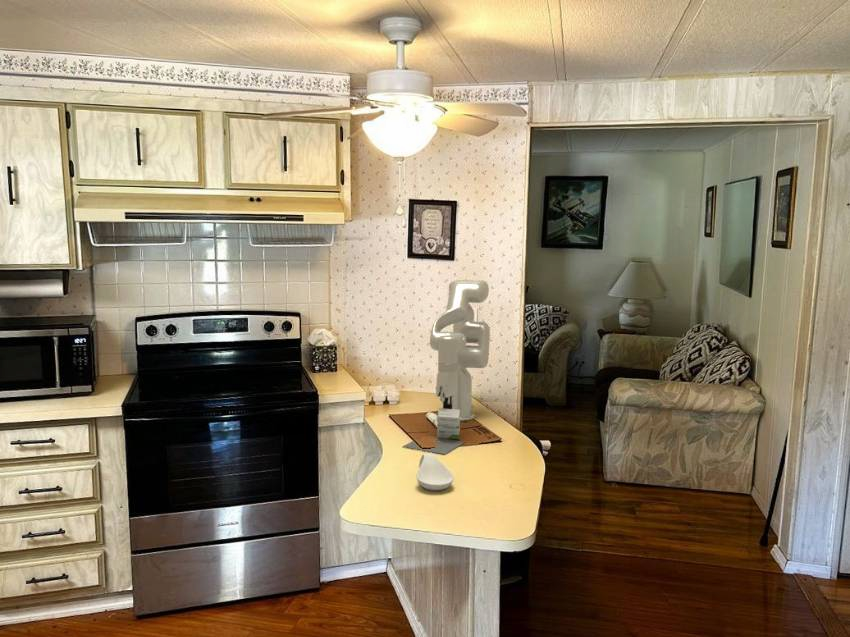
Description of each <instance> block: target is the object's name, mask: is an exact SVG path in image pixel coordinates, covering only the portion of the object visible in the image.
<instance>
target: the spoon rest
mask: <svg viewBox="0 0 850 637" xmlns="http://www.w3.org/2000/svg"><path fill="white" fill-rule="evenodd" d="M454 479H455V477H454V474H453V473H452V471H451V470H449V468H448V467H447V466H446V465H445V464H444V463H442V462H441V460H440V459H439V458H438V457H437V456H436V454H435V453H423V454H422V455H421V457H420V460H419V464H418V469H417V473H416V480H417V482H418V483H419V485H421V487H422V488H425V489H426V490H429V491H442V490H445V489H447V488H448V487H450V486H451V485H452V483H453V482H454Z"/></svg>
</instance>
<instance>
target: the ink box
mask: <svg viewBox="0 0 850 637" xmlns="http://www.w3.org/2000/svg"><path fill="white" fill-rule="evenodd" d="M436 417H437V420H436V422H437V423H436V425H437V426H436V433H437V434H436V435H437V436H436V437H437V438H443V439H450V440H454V439H455V440H459V439H460V432H461V430H460V429H461V421H460V410H456V409H443V407H442V408H441V407H440V408H439V407H438V410H437V416H436Z"/></svg>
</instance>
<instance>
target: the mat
mask: <svg viewBox="0 0 850 637" xmlns="http://www.w3.org/2000/svg"><path fill="white" fill-rule="evenodd" d="M429 436H430V435H429ZM429 438H433V439H437V440H435V441H440V442H442V443H439V442H435V443H436V444H437V446H436V447H435V448H431V449H422V448H420V447H419V446H418V445H417V444H416V443H414V440H412V441H411V442H408V443H407V444H404V445H402V448H403V447H406V448H405V449H409V448H412V449H411V450H414V449H417V450H416V451H419V450H422V451H421V452H425V451H428V452H427V453H430V452H432V453H431V454H435V455H436V454H437V455H442V456H446V455H448V454H449V453H452V452H453V451H454V450H456V449H457V448H460V447H461V446H462V444H463V443H464V444H465V443H466V442H465V441H460V440H456V439H455V440H454V439H450V438H438V437H437V436H436V437H435V436H430V437H429ZM464 444H463V445H464ZM460 445H461V446H460Z"/></svg>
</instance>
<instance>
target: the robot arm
mask: <svg viewBox="0 0 850 637" xmlns="http://www.w3.org/2000/svg"><path fill="white" fill-rule="evenodd" d="M489 292H490V288H489V284H488V282H487V281H486V280H480V279H479V280H477V279H476V280H475V279H474V280H473V279H472V280H470V279H460V280H453V281H451V282H450V283H449V285H448V299H447V305H446V310H445V311H444V312H442V313H441V314H440V315H439V316H438V317H437V318H436V320H434V322H433V324H432V326H431V330H430V337H429V345H430V348H431V349H432V350H433V351H437V352H438V353H437V356H438V358H437V360H438V361H437V362H438V363H437V374H436V375H437V376H436V386H435V387H436V388H435V396H436V397H437V398H439V401H440V402H442V408H443V409H456V410H460V422H461V421H464V422H465V420H466V421H471V420H474V419H475V418H476V414H475V413H474V412H473V411H472V409H474V408H475V404H473V403H472V390H473V389H472V388H473V387H472V384H473V383H472V382H473V381H472V380H473V379H472V376H471V374H470V372H469V370H468V369H469V368H470V369H484V368H486V367H487V366H488V364H489V355H490V354H489V352H490V342H491V341H490V338H491V337H490V336H491V333H490V332H491V330H490V325H489V324H488V323H487V322H485V321H474V316H475V311H474V309H473V307H472V306H471V304H470V303H473V304H474V303H475V304H481V303H484V302H485V301H486V300H487V298H488V297H489ZM451 325H453V327H452V328H453V329H452V331H442V330H443V329H445V328H447V327H448V326H451ZM470 344H477V345H470Z"/></svg>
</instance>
